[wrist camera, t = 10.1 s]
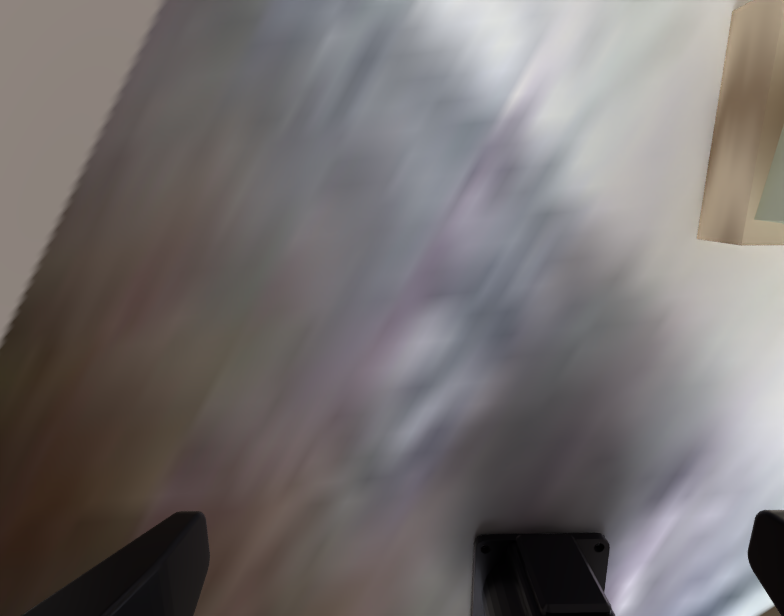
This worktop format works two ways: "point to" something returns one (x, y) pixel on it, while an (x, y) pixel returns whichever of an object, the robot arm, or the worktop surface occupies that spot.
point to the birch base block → (746, 128)
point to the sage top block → (774, 189)
